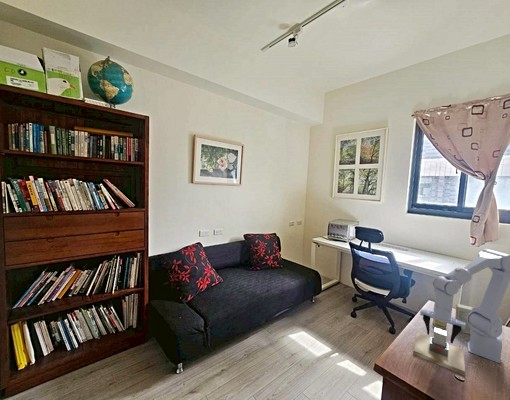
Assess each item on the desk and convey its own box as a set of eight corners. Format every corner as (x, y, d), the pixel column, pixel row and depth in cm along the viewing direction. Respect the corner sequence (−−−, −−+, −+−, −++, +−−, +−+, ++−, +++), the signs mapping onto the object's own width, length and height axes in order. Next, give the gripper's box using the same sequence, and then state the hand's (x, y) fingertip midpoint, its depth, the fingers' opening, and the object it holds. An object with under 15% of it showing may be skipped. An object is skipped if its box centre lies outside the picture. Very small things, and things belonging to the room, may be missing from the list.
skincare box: (470, 330, 114) (473, 306, 113) (472, 335, 111) (475, 310, 110) (453, 326, 118) (456, 302, 117) (455, 330, 114) (457, 306, 113)
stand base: (462, 352, 99) (462, 349, 98) (464, 375, 86) (465, 371, 86) (416, 335, 109) (417, 332, 109) (413, 353, 96) (413, 350, 96)
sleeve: (447, 349, 98) (448, 342, 98) (447, 358, 93) (448, 351, 92) (429, 342, 102) (430, 336, 101) (429, 350, 96) (429, 344, 96)
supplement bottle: (448, 329, 114) (451, 310, 114) (436, 327, 115) (438, 309, 115) (442, 323, 120) (444, 305, 119) (430, 321, 121) (432, 303, 120)
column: (444, 349, 98) (446, 331, 97) (444, 354, 94) (446, 336, 94) (432, 344, 100) (434, 327, 100) (432, 349, 97) (434, 331, 96)
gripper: (420, 303, 97) (417, 334, 98) (467, 317, 88) (463, 351, 89) (422, 297, 103) (419, 326, 104) (466, 310, 94) (462, 342, 95)
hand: (439, 337), depth 97 cm, fingers open, 7 cm apart
